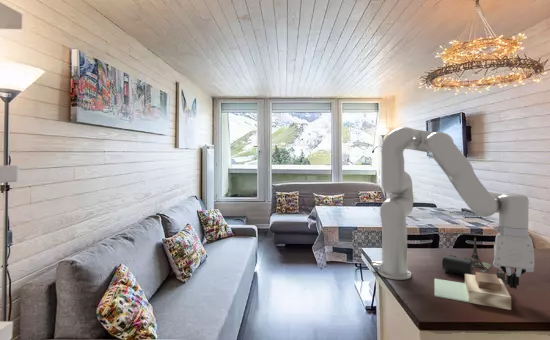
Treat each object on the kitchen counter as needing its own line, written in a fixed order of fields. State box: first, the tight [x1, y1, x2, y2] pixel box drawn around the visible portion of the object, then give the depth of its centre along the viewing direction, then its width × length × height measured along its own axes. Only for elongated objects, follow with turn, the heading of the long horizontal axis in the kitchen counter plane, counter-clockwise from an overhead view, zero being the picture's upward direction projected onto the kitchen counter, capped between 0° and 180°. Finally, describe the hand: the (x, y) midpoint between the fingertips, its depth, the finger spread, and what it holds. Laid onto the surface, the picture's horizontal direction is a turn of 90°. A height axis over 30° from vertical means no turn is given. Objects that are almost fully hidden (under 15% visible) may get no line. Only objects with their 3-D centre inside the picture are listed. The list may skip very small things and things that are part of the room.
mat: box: [433, 278, 469, 303], centre depth 107 cm, size 10×16×1 cm, turn 152°
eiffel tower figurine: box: [469, 237, 493, 273], centre depth 131 cm, size 15×10×13 cm
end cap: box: [441, 254, 475, 277], centre depth 122 cm, size 10×7×7 cm
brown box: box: [475, 271, 501, 292], centre depth 102 cm, size 6×9×2 cm, turn 152°
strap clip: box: [495, 269, 508, 285], centre depth 115 cm, size 8×3×4 cm, turn 172°
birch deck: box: [464, 274, 512, 311], centre depth 102 cm, size 11×16×4 cm
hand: (512, 286), depth 98 cm, fingers closed
